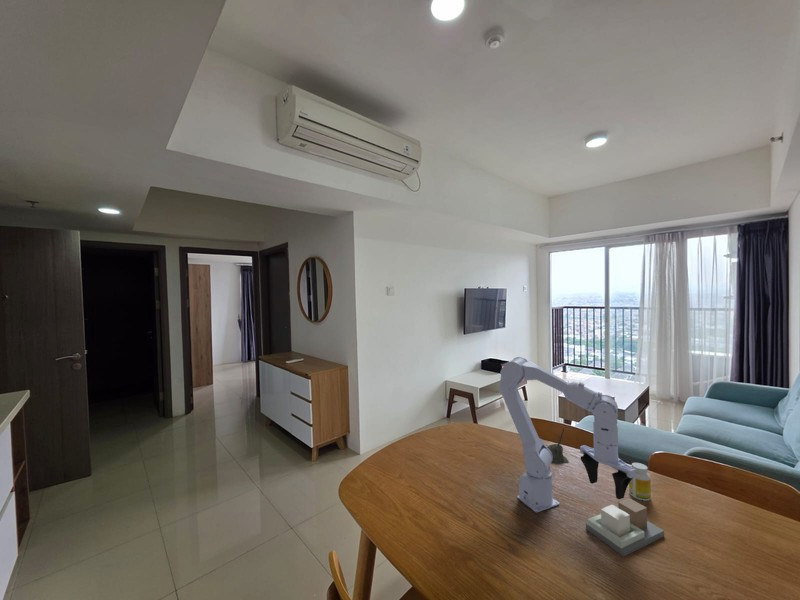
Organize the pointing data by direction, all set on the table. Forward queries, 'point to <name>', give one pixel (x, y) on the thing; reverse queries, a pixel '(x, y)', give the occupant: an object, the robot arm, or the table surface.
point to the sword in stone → (558, 452)
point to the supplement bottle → (640, 483)
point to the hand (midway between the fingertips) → (606, 489)
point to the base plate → (639, 529)
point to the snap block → (615, 520)
